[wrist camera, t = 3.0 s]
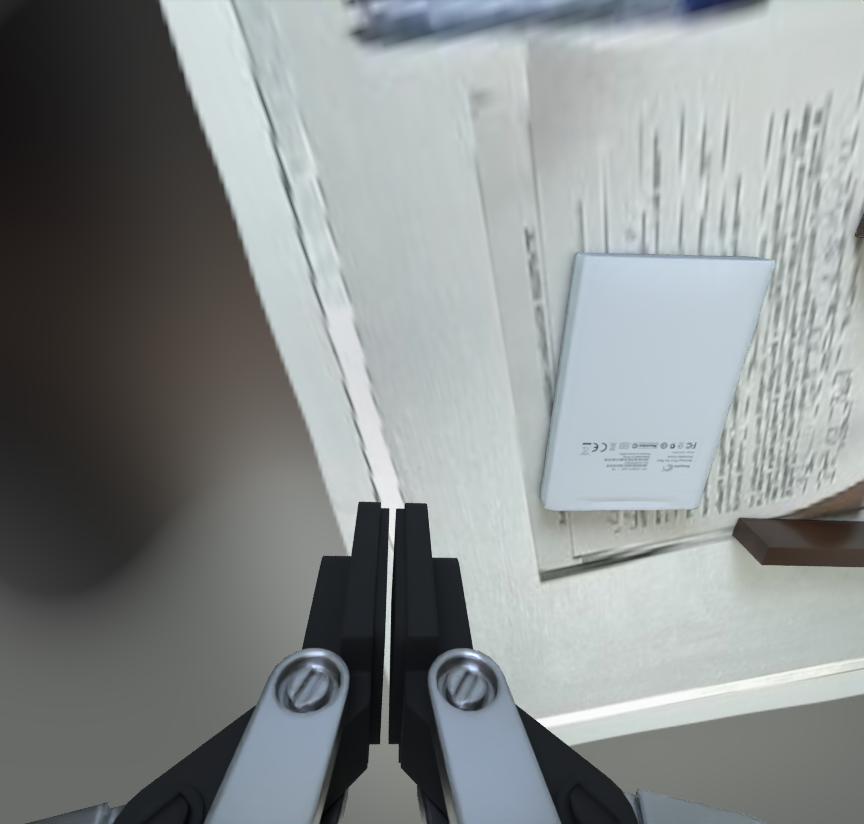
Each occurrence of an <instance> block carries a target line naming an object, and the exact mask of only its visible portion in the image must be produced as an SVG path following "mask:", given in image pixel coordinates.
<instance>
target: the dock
mask: <svg viewBox="0 0 864 824" xmlns="http://www.w3.org/2000/svg"><path fill="white" fill-rule="evenodd" d="M855 236H856V237H863V238H864V215H863V217H862V220H861V222H860V225H859V227H858V230H857V232H856V234H855ZM733 536H734V537H735V538H736V539H737V540H738V541H739V542H740V543H741V544H742V545H743V546H744V547H745V548H746V549H747V550H748V551H749V553H750V554H751V555H752V556H753V557H754V558H755V559H756V560H757V561H758V562H759V563H760V564H761V565H784V566H833V567H864V522H852V521H818V520H783V519H748V518H739V520H738V523H737V525H736V527H735V530H734V532H733Z"/></svg>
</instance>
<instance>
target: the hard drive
mask: <svg viewBox="0 0 864 824" xmlns="http://www.w3.org/2000/svg"><path fill="white" fill-rule="evenodd" d="M775 263H776V262H775V260H771V259H765V258H757V257H734V256H695V255H654V254H614V253H576V254H575V259H574V266H573V273H572V280H571V287H570V293H569V301H568V307H567V313H566V321H565V328H564V335H563V342H562V348H561V355H560V362H559V369H558V375H557V383H556V390H555V396H554V403H553V410H552V417H551V424H550V431H549V437H548V445H547V451H546V458H545V465H544V472H543V479H542V482H541V490H540V496H539V497H540V499H541V501H542V503H543V505H544V508H545V509H547V510H551V511H600V510H692V509H696V508H698V506H699V503H700V500H701V497H702V494H703V491H704V487H705V484H706V481H707V478H708V475H709V472H710V469H711V465H712V462H713V459H714V456H715V453H716V450H717V447H718V444H719V441H720V438H721V435H722V431H723V428H724V425H725V422H726V419H727V416H728V412H729V409H730V406H731V403H732V400H733V396H734V393H735V390H736V387H737V384H738V381H739V378H740V374H741V371H742V368H743V365H744V362H745V359H746V356H747V353H748V350H749V347H750V344H751V340H752V337H753V334H754V331H755V327H756V324H757V321H758V318H759V315H760V311H761V308H762V305H763V302H764V298H765V295H766V292H767V289H768V286H769V282H770V279H771V276H772V273H773V270H774V267H775Z"/></svg>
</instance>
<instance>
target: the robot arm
mask: <svg viewBox="0 0 864 824" xmlns="http://www.w3.org/2000/svg"><path fill="white" fill-rule="evenodd" d="M388 532H389V508H381V502H359V504H358V511H357V519H356V526H355V533H354V541H353V548H352V555H351V556H323V557H322V561H321V565H320V570H319V574H318V578H317V583H316V588H315V592H314V597H313V602H312V606H311V611H310V615H309V620H308V625H307V629H306V634H305V638H304V643H303V647H302V650H300V651H296V652H295V653H293V654H291V655H289V656H287V657H285V658H284V659H283V660H282V661H281V662H280V663H279V664H278V665H276V666H275V668H274V670H273V671H272V673H271V674H270V676H269V678H268V680H267V682H266V685H265V687H264V689H263V691H262V693H261V696H260V698H259V700H258V702H257V705H256V706H254V707H253V708H251V709H250V710H249V711H247V712H246V713H245V714H243V715H242V716H241V717H239V718H238V719H237V720H235V721H234V722H233V723H231V724H230V725H229V726H227V727H226V728H225V729H223V730H222V731H221V732H219V733H218V734H216V735H215V736H214V737H213V738H211V739H210V740H208V741H207V742H206V743H204V744H203V745H202V746H200V747H199V748H198V749H196V750H195V751H194V752H192V753H191V754H190V755H188V756H187V757H186V758H184V759H183V760H181V761H180V762H179V763H178V764H176V765H175V766H174V767H172V768H171V769H169V770H168V771H167V772H166V773H164V774H163V775H161V776H160V777H159V778H157V779H156V780H155V781H153V782H152V783H151V784H149V785H148V786H147V787H145V788H144V789H142V790H141V791H140V792H139V793H138V794H137V795H136V796H135V797H134V798H133V799H131V800H130V801H129V802H128V803H127V804H126V805H122V806H118V807H115V808H111V809H109V805H108V803H103V804H100V805H96V806H92V807H88V808H84V809H80V810H76V811H73V812H69V813H65V814H61V815H58V816H53V817H50V818H46V819H42V820H39V821H34V822H31V823H27V824H342V822H343V817H344V812H345V808H346V803H347V799H348V787H349V786H350V785H351V784H352V783H353V782H354V781H355V780H356V779H357V778H358V777H359V776H360V775H361V774H362V773H363V772H364V771H365V770H366V769H367V763H368V755H369V744H380V729H381V709H382V688H383V668H384V647H385V622H386V592H387V562H388ZM389 744H399V763H401V768H402V769H403V770H404V771H405V772H406V773H407V774H408V776H409V777H410V778H411V779H412V780H413V781H414V782H415V783H416V784H417V797H418V803H419V809H420V816H421V821H422V824H767V823H765V822H764V821H762V820H759V819H757V818H754V817H752V816H749V815H747V814H742V813H738V812H734V811H730V810H725V809H721V808H717V807H713V806H708V805H704V804H700V803H695V802H691V801H687V800H683V799H679V798H674V797H670V796H666V795H662V794H657V793H653V792H648V791H644V790H640V789H637V792H636V794H635V795H634V794H629V793H626V792H623V791H622V790H621V789H620V788H619V787H618V786H617V785H616V784H615V783H614V782H613V781H612V780H611V779H609V778H608V777H607V776H606V775H605V774H603V773H602V772H601V771H599V770H598V769H597V768H595V767H594V766H593V765H592V764H591V763H589V762H588V761H587V760H585V759H584V758H583V757H581V756H580V755H579V754H578V753H577V752H575V751H574V750H572V749H571V748H570V747H569V746H568V745H566V744H565V743H564V742H563V741H561V740H560V739H559V738H558V737H556V736H555V735H554V734H552V733H551V732H550V731H549V730H547V729H546V728H545V727H544V726H542V725H541V724H540V723H538V722H537V721H536V720H535V719H533V718H532V717H531V716H530V715H528V714H527V713H526V712H525V711H523V710H522V709H521V708H519V707H518V706H517V705H516V704H515V702H514V700H513V697H512V695H511V692H510V689H509V687H508V684H507V682H506V679H505V676H504V674H503V673H502V671H501V669H500V667H499V666H498V665H497V664H496V663H495V662H494V661H493V660H492V659H491V658H490V657H489V656H487V655H485V654H483V653H482V652H480V651H476V650H473V646H472V640H471V633H470V627H469V621H468V615H467V609H466V603H465V597H464V591H463V585H462V579H461V573H460V567H459V562H458V559H457V558H432V553H431V542H430V531H429V520H428V509H427V504H425V503H405V509H396V522H395V541H394V560H393V579H392V599H391V644H390V693H389Z"/></svg>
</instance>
